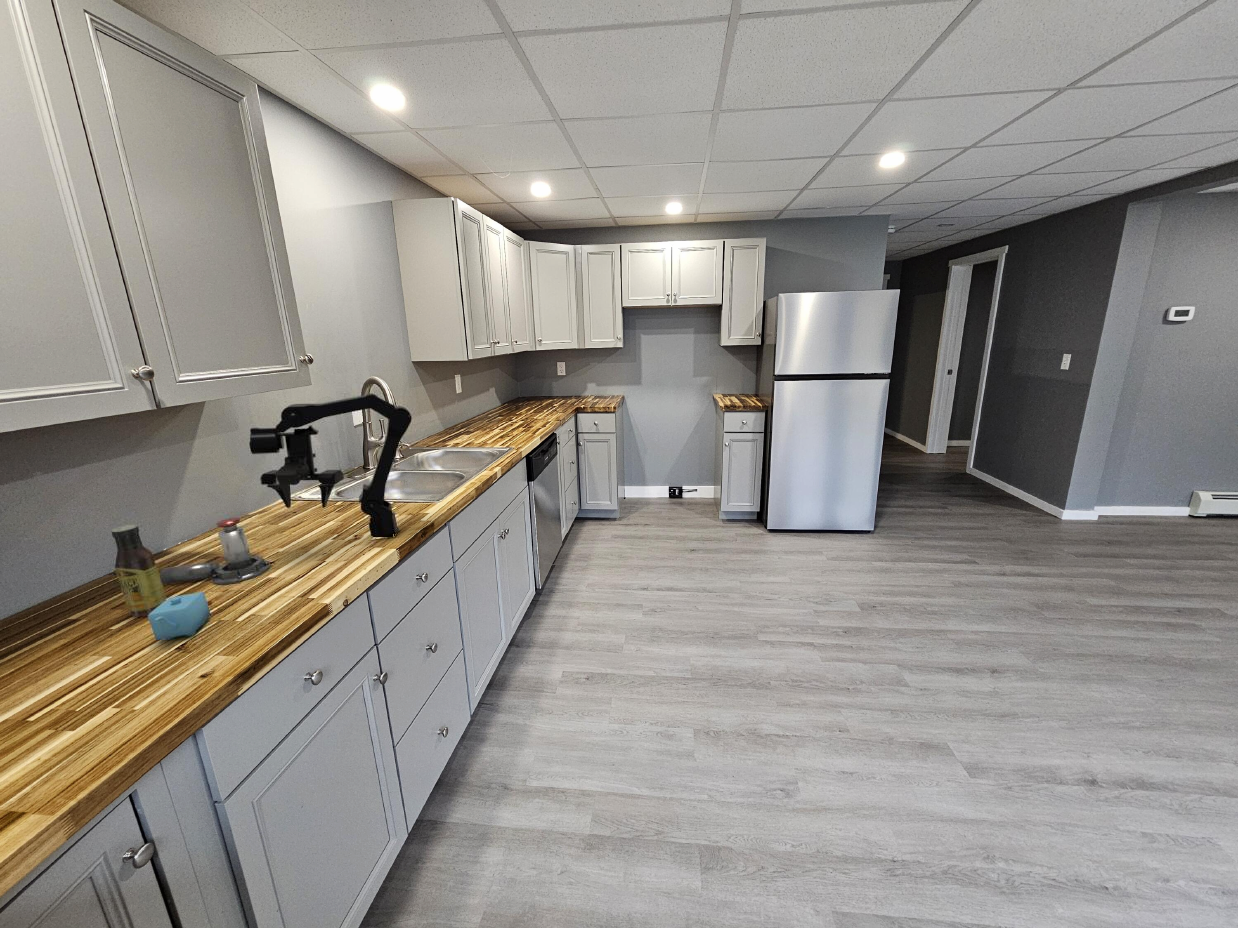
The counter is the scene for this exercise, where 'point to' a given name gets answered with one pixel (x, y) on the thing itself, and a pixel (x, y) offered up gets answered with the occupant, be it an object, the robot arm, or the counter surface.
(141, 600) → the sauce bottle
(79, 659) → the counter surface
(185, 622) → the teapot
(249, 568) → the dark grey handled piece
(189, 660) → the counter surface
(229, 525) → the jar with red lid
